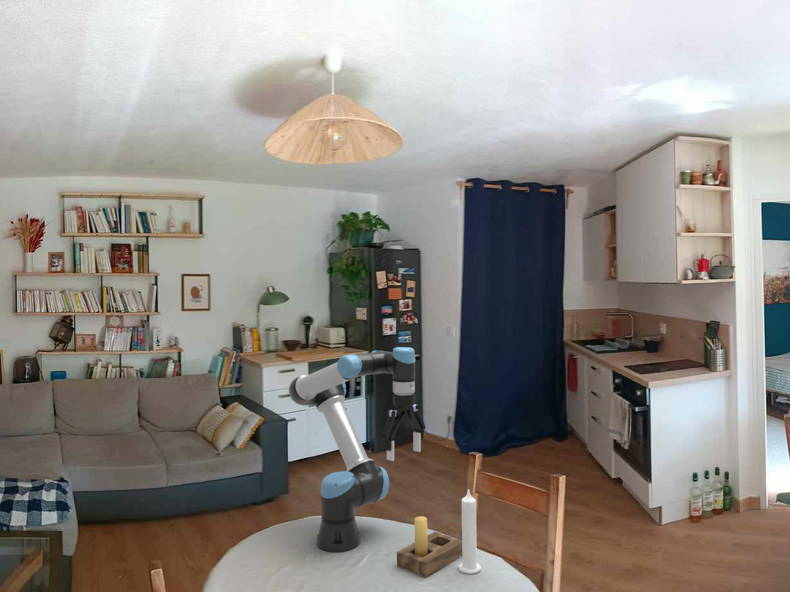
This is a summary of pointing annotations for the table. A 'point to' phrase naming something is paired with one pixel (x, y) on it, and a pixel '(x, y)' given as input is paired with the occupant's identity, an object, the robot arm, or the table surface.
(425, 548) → the peg
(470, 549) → the candle
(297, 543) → the table surface
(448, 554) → the socket block
